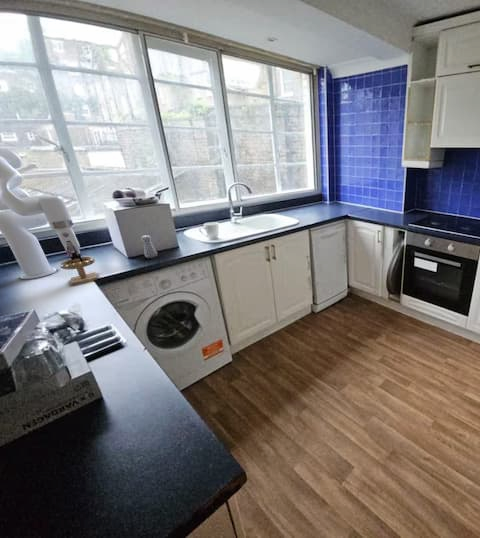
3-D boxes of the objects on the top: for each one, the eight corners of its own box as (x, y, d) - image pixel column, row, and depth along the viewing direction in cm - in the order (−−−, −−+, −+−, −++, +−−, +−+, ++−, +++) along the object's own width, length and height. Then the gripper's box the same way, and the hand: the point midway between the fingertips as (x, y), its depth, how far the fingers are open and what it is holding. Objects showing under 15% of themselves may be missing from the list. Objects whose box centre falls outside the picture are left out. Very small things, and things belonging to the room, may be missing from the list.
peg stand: (71, 280, 138) (62, 259, 134) (96, 274, 143) (88, 254, 140) (72, 285, 132) (62, 264, 128) (97, 279, 137) (89, 259, 133)
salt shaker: (143, 260, 161) (135, 237, 156) (152, 256, 166) (145, 234, 161) (152, 260, 159) (144, 237, 154) (160, 257, 165) (154, 234, 160)
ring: (61, 265, 135) (59, 260, 134) (94, 258, 143) (92, 254, 142) (61, 272, 127) (59, 267, 126) (96, 265, 135) (94, 260, 134)
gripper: (73, 225, 128) (89, 264, 135) (72, 220, 139) (87, 256, 146) (49, 229, 123) (67, 269, 130) (50, 223, 134) (67, 261, 141)
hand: (78, 262), depth 138 cm, fingers closed on ring, 2 cm apart
